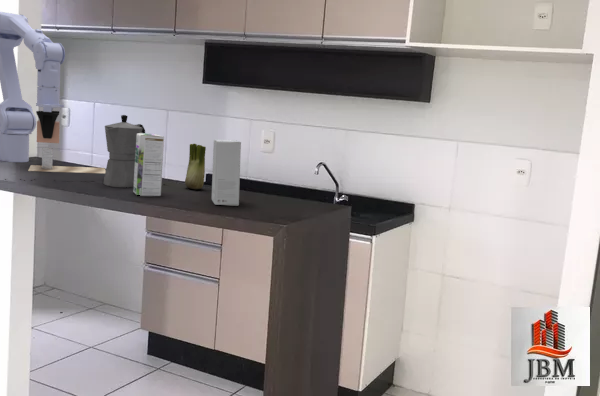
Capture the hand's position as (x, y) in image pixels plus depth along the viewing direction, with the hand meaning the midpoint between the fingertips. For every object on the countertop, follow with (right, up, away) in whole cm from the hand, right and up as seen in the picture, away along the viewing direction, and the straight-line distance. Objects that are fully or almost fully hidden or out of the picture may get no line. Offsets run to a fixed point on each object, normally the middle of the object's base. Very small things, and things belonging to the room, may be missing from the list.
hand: (47, 137), depth 171 cm
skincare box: (+51, -18, -24) cm, 60 cm away
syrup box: (+33, -16, -21) cm, 42 cm away
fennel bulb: (+42, -15, -7) cm, 45 cm away
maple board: (+4, -10, +3) cm, 11 cm away
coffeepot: (+24, -13, -9) cm, 29 cm away
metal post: (-1, -9, +1) cm, 9 cm away
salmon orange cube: (0, -1, 0) cm, 1 cm away
